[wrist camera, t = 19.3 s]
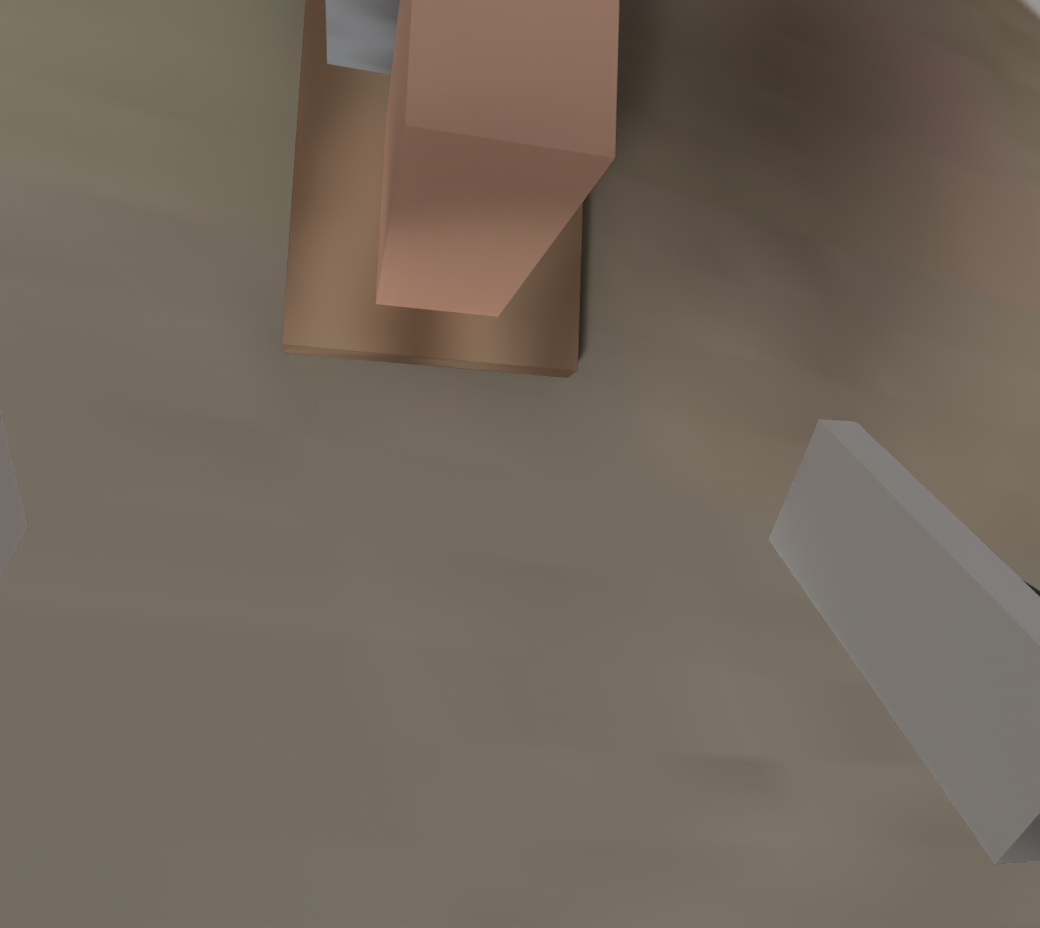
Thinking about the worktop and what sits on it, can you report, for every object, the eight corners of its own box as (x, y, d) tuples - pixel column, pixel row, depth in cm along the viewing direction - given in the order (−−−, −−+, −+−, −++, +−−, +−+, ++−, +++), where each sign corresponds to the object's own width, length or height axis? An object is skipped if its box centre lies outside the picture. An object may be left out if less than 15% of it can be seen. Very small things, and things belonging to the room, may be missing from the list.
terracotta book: (375, 304, 31) (405, 124, 17) (386, 114, 32) (422, -199, 18) (497, 316, 32) (615, 157, 19) (505, 133, 33) (623, -149, 19)
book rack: (284, 352, 32) (228, 165, 15) (312, -59, 33) (288, -607, 17) (567, 377, 34) (769, 239, 18) (579, -4, 36) (774, -436, 20)
